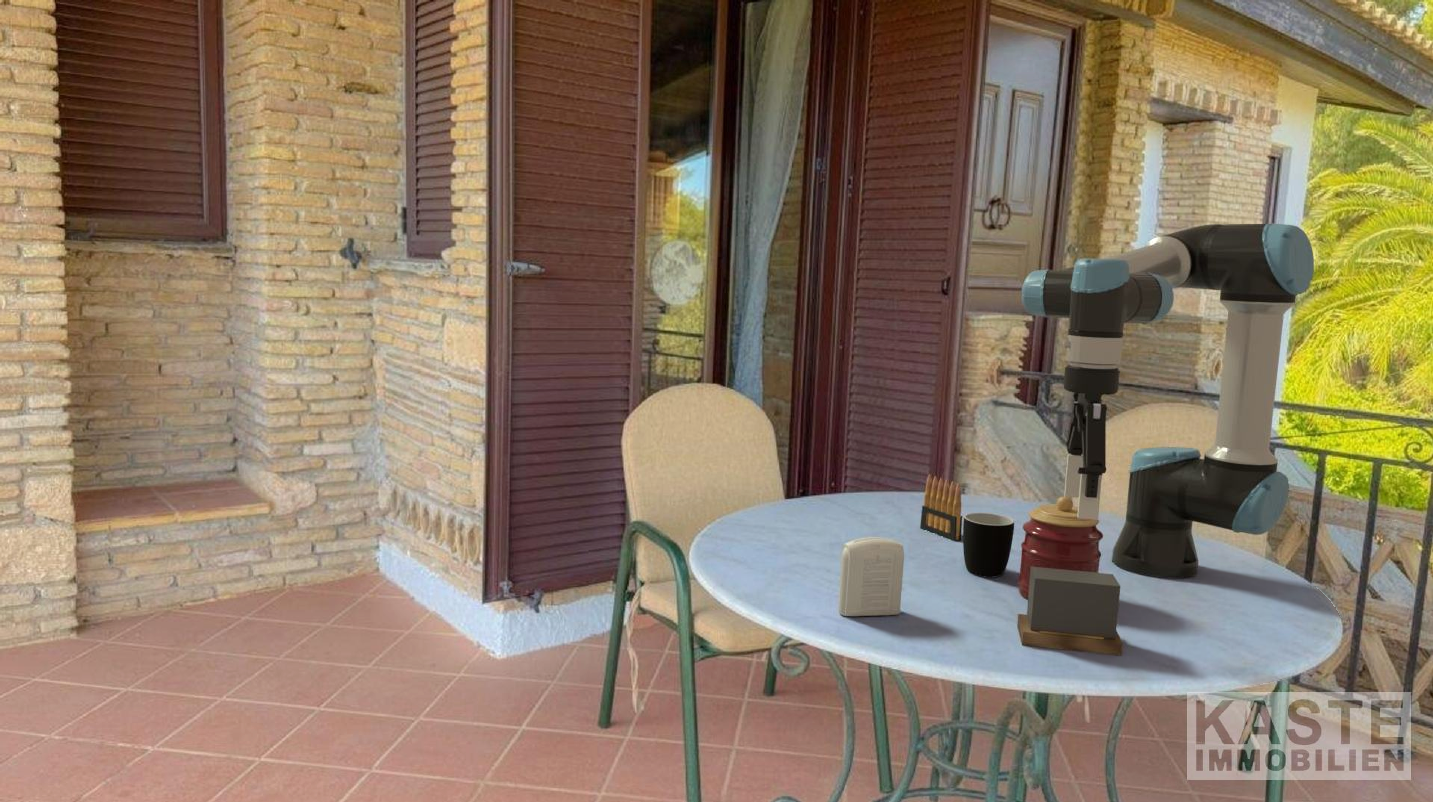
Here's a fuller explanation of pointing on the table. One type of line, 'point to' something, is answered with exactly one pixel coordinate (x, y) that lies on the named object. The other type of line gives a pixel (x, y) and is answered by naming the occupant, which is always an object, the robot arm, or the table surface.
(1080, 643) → the block
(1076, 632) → the grey bevelled block
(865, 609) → the photo printer
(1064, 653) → the table surface
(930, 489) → the ammunition clip
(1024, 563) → the canister
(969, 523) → the mug
